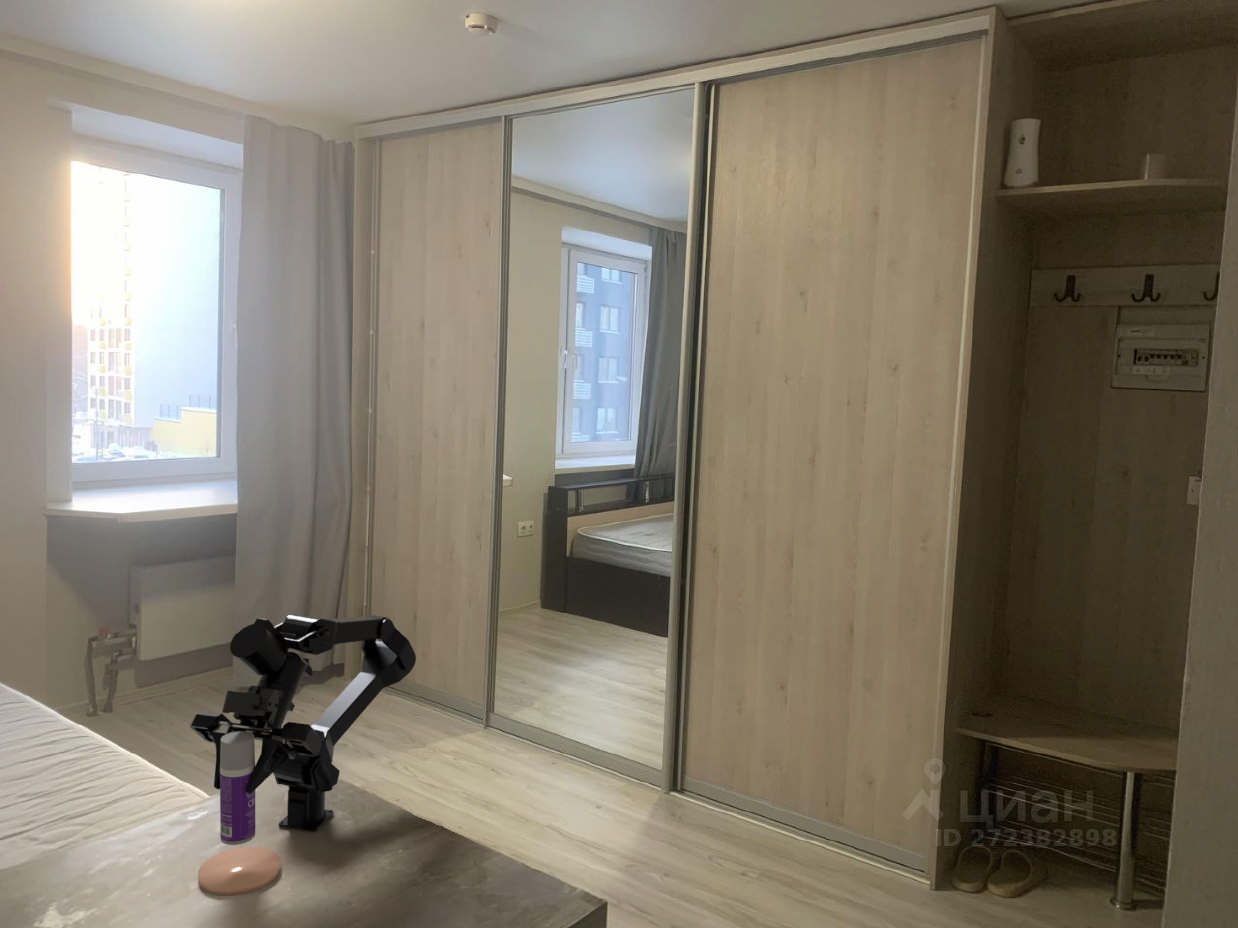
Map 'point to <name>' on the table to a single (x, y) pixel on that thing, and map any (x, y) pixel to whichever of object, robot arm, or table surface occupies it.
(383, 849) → the table surface
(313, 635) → the robot arm
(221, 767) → the container
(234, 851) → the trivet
